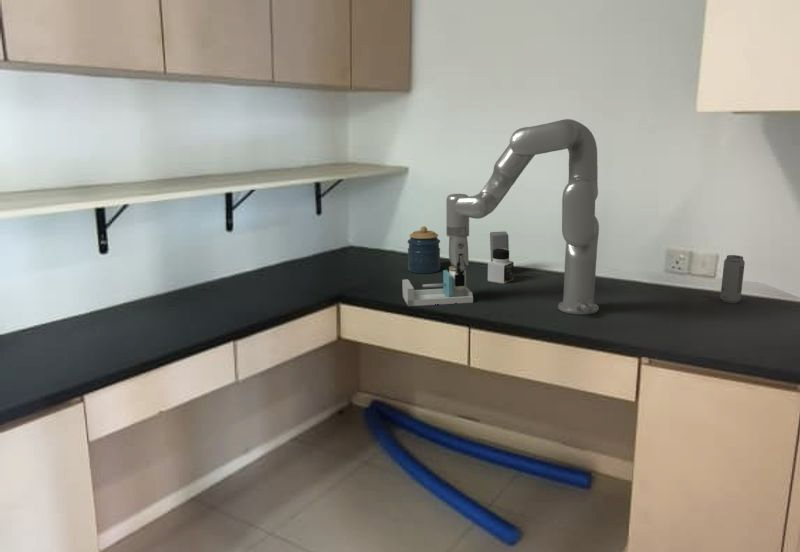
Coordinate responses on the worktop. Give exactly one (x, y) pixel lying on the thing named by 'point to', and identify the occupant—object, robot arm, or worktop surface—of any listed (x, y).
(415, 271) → the canister
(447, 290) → the pusher
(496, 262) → the medicine bottle
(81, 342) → the worktop surface
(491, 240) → the skincare box
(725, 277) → the energy drink can
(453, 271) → the jar
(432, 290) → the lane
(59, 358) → the worktop surface
